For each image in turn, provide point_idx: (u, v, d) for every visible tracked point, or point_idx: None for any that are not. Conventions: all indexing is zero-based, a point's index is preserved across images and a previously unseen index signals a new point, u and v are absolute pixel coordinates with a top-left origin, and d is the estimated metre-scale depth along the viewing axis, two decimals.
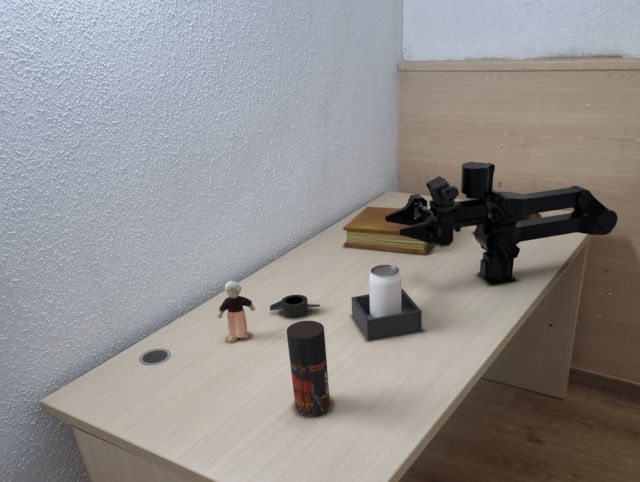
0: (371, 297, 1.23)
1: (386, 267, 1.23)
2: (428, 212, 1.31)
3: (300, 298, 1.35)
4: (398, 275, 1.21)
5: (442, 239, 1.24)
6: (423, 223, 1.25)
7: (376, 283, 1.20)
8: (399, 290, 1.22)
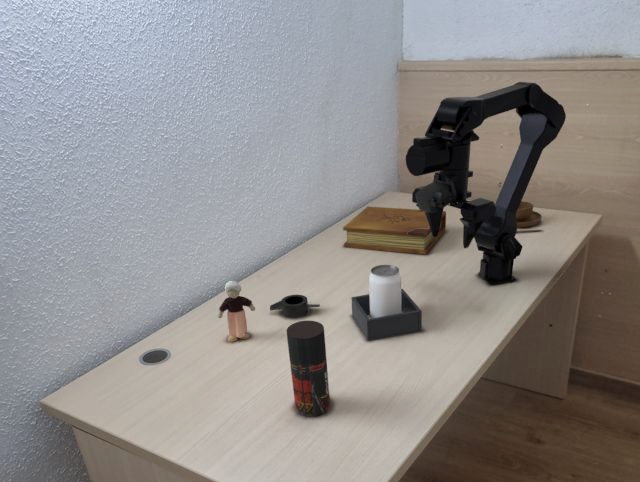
0: (371, 297, 1.23)
1: (386, 267, 1.23)
2: None
3: (300, 298, 1.35)
4: (398, 275, 1.21)
5: (490, 215, 1.19)
6: (466, 227, 1.22)
7: (376, 283, 1.20)
8: (399, 290, 1.22)
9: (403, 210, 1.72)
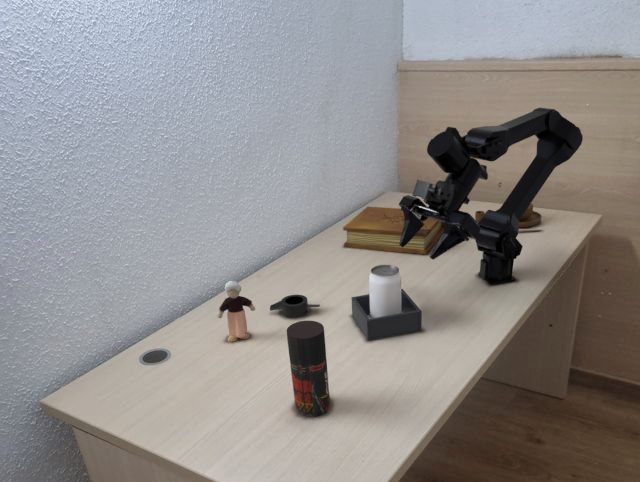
0: (371, 297, 1.23)
1: (386, 267, 1.23)
2: (432, 212, 1.24)
3: (300, 298, 1.35)
4: (398, 275, 1.21)
5: (472, 234, 1.18)
6: (444, 235, 1.19)
7: (376, 283, 1.20)
8: (399, 290, 1.22)
9: None
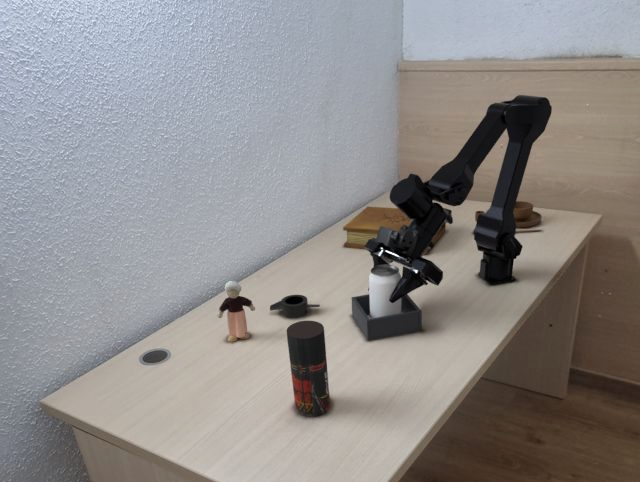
0: (371, 297, 1.23)
1: (386, 267, 1.23)
2: (396, 256, 1.23)
3: (300, 298, 1.35)
4: (398, 275, 1.21)
5: (435, 281, 1.17)
6: (403, 279, 1.19)
7: (376, 283, 1.20)
8: None
9: None
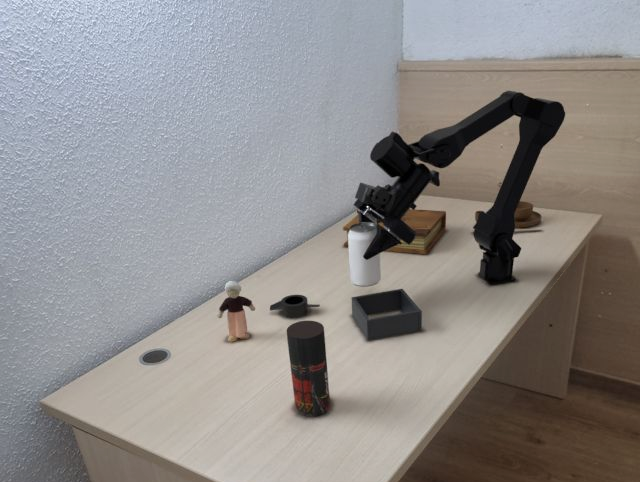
0: (349, 253, 1.27)
1: (367, 225, 1.26)
2: (377, 215, 1.25)
3: (300, 298, 1.35)
4: (374, 232, 1.23)
5: (405, 240, 1.19)
6: (376, 236, 1.22)
7: (351, 238, 1.24)
8: None
9: None
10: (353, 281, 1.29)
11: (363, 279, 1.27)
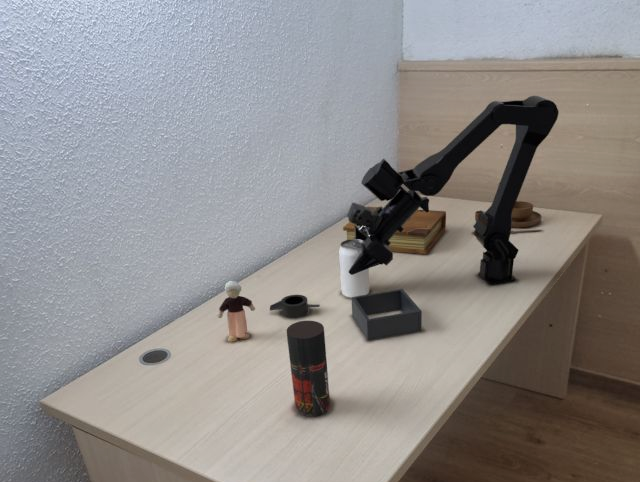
0: None
1: (359, 242, 1.37)
2: None
3: (300, 298, 1.35)
4: None
5: (381, 260, 1.28)
6: (360, 255, 1.31)
7: (340, 253, 1.35)
8: None
9: None
10: (342, 291, 1.40)
11: (349, 291, 1.38)
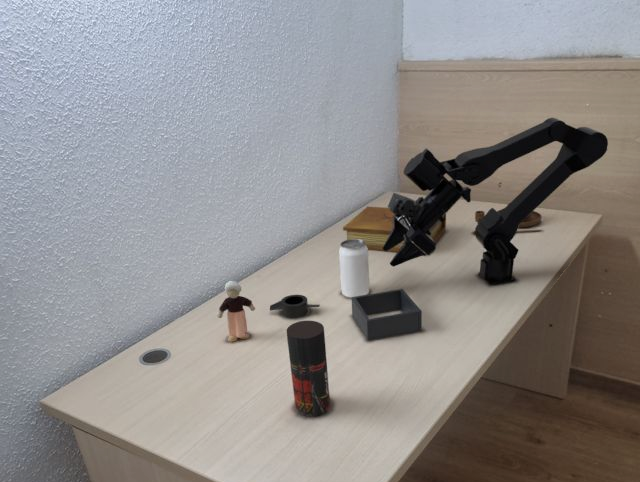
0: None
1: (359, 242, 1.37)
2: (409, 224, 1.35)
3: (300, 298, 1.35)
4: (361, 250, 1.34)
5: (424, 250, 1.28)
6: (403, 246, 1.31)
7: (340, 253, 1.35)
8: (361, 264, 1.35)
9: None
10: (342, 291, 1.40)
11: (349, 291, 1.38)
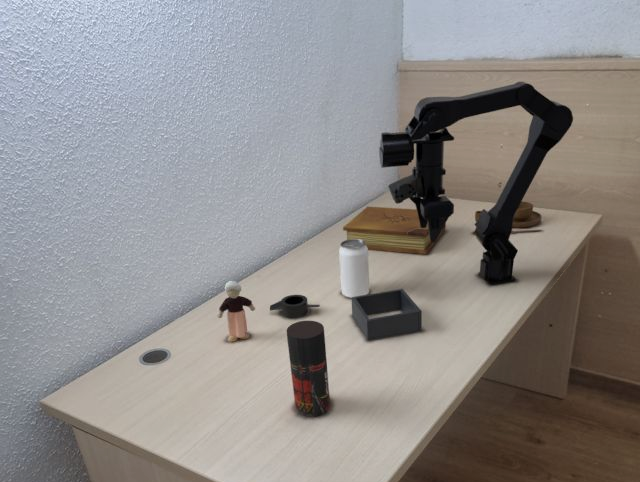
0: None
1: (359, 242, 1.37)
2: None
3: (300, 298, 1.35)
4: (361, 250, 1.34)
5: (445, 214, 1.25)
6: (428, 222, 1.29)
7: (340, 253, 1.35)
8: (361, 264, 1.35)
9: (403, 210, 1.72)
10: (342, 291, 1.40)
11: (349, 291, 1.38)
